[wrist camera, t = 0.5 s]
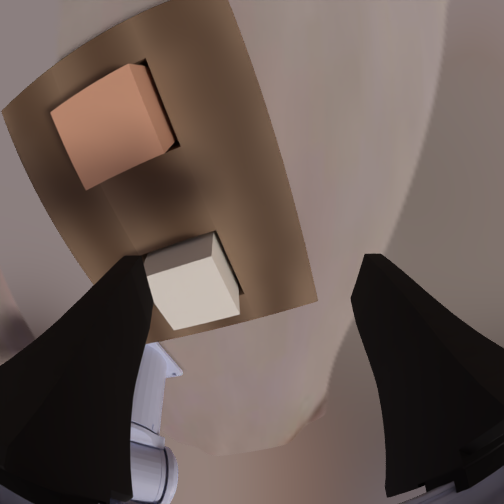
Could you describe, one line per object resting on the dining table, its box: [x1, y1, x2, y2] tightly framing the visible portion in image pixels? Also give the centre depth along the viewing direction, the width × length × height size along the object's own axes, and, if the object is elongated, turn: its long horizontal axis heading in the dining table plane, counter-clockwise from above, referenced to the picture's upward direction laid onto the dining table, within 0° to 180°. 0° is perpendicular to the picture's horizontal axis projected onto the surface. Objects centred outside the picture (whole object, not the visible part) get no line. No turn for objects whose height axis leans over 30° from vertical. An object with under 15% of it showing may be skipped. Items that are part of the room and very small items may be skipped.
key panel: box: [2, 0, 318, 344], centre depth 16 cm, size 14×20×3 cm
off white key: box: [144, 230, 240, 330], centre depth 17 cm, size 4×4×3 cm
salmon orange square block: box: [50, 64, 177, 190], centre depth 12 cm, size 4×4×3 cm
